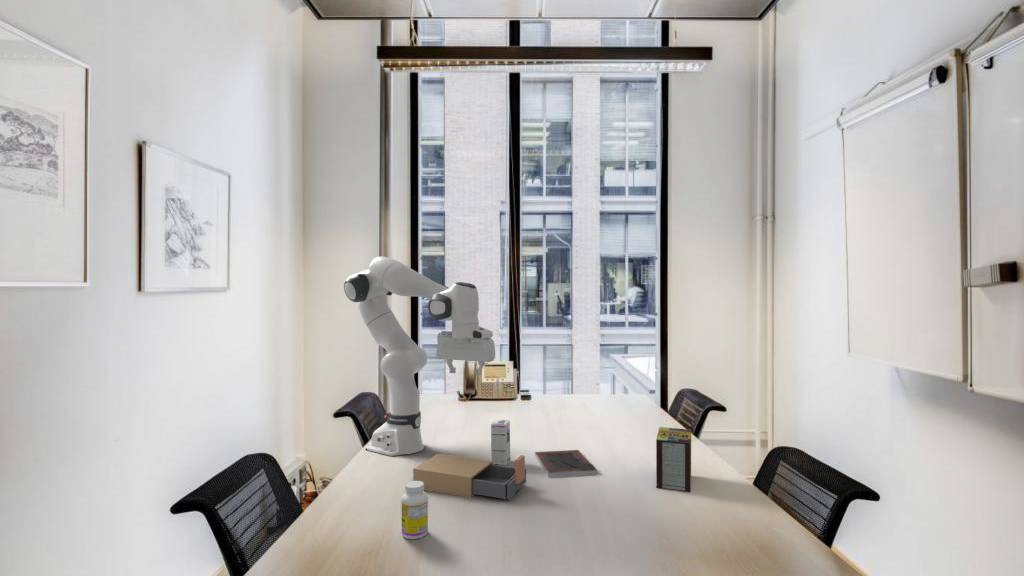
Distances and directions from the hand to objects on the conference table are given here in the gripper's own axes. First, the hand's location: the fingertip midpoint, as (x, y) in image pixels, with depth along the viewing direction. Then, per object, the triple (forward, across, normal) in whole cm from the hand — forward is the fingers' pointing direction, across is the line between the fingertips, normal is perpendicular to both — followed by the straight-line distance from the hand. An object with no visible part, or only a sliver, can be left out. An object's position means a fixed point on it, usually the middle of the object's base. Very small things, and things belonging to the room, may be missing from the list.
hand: (465, 374), depth 174 cm
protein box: (+34, +64, +22) cm, 76 cm away
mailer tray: (+33, +11, -6) cm, 35 cm away
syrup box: (+34, +5, +18) cm, 39 cm away
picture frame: (+35, +27, +24) cm, 50 cm away
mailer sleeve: (+34, -1, -6) cm, 35 cm away
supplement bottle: (+34, +6, -40) cm, 53 cm away
